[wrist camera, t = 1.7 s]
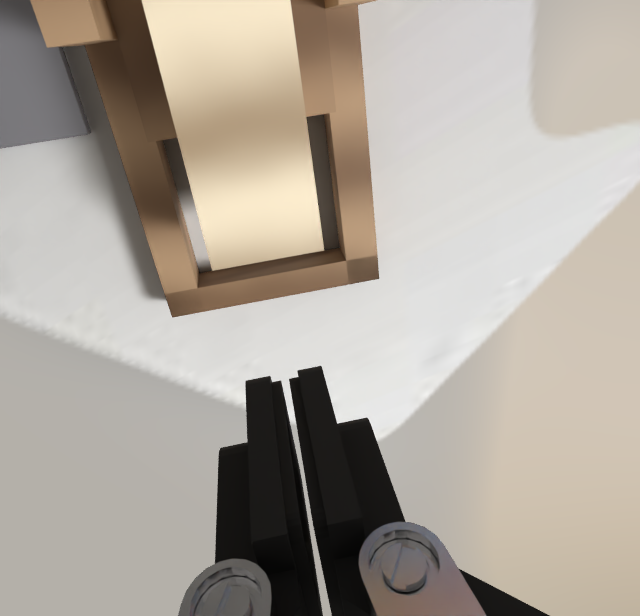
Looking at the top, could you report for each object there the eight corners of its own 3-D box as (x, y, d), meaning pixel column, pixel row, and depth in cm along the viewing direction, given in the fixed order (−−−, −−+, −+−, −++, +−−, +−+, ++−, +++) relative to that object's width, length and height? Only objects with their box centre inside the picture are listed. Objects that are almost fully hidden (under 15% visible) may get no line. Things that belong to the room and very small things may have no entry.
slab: (139, -53, 19) (124, -67, 16) (272, -71, 19) (278, -88, 16) (214, 245, 24) (212, 270, 22) (314, 227, 25) (324, 250, 22)
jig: (35, -148, 20) (-52, -230, 14) (332, -184, 21) (373, -275, 15) (175, 301, 30) (161, 368, 24) (370, 264, 31) (405, 321, 25)
